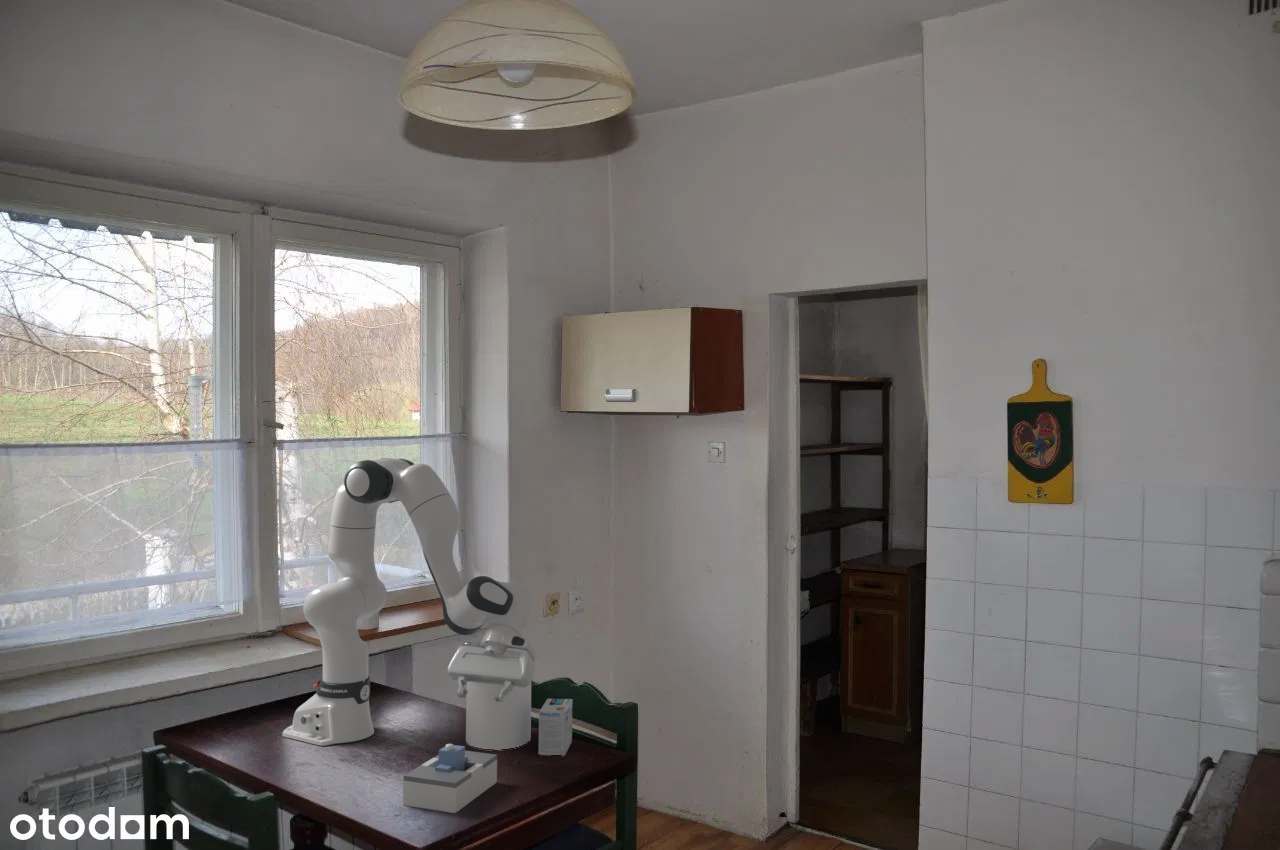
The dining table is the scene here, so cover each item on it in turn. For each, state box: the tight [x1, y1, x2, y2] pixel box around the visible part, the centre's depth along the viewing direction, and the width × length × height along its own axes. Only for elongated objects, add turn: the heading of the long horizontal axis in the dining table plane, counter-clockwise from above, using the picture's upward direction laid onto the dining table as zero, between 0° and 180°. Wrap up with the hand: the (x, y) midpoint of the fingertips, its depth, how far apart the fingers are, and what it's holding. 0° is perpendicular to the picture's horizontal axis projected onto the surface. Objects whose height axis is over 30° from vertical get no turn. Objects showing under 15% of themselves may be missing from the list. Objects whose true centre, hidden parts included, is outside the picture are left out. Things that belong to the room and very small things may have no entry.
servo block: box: [435, 743, 468, 773], centre depth 197 cm, size 4×8×9 cm, turn 161°
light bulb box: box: [538, 698, 573, 757], centre depth 227 cm, size 11×7×11 cm, turn 175°
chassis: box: [402, 750, 498, 814], centre depth 197 cm, size 12×18×6 cm, turn 161°
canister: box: [465, 681, 532, 751], centre depth 233 cm, size 16×16×20 cm
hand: (479, 698), depth 209 cm, fingers open, 8 cm apart
